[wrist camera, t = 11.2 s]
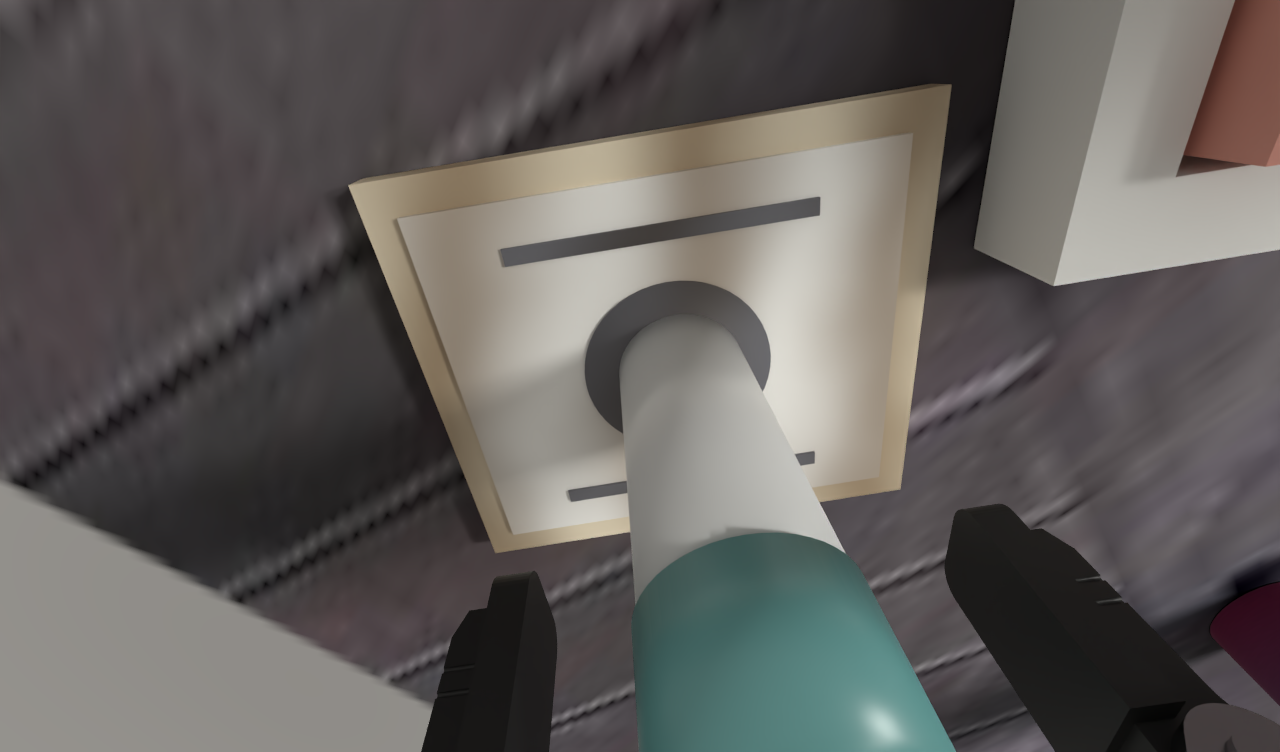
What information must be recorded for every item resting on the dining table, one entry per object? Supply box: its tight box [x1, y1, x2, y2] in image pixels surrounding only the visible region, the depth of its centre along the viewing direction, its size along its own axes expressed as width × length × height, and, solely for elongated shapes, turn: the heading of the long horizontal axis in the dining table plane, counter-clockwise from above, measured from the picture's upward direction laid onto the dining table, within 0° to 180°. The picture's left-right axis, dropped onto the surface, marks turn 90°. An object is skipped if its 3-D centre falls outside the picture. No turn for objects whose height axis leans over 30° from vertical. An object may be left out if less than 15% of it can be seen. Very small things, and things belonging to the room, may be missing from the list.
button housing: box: [974, 0, 1280, 286], centre depth 13 cm, size 10×10×4 cm
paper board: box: [348, 84, 952, 553], centre depth 18 cm, size 16×14×1 cm
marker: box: [619, 314, 956, 752], centre depth 12 cm, size 4×4×12 cm
